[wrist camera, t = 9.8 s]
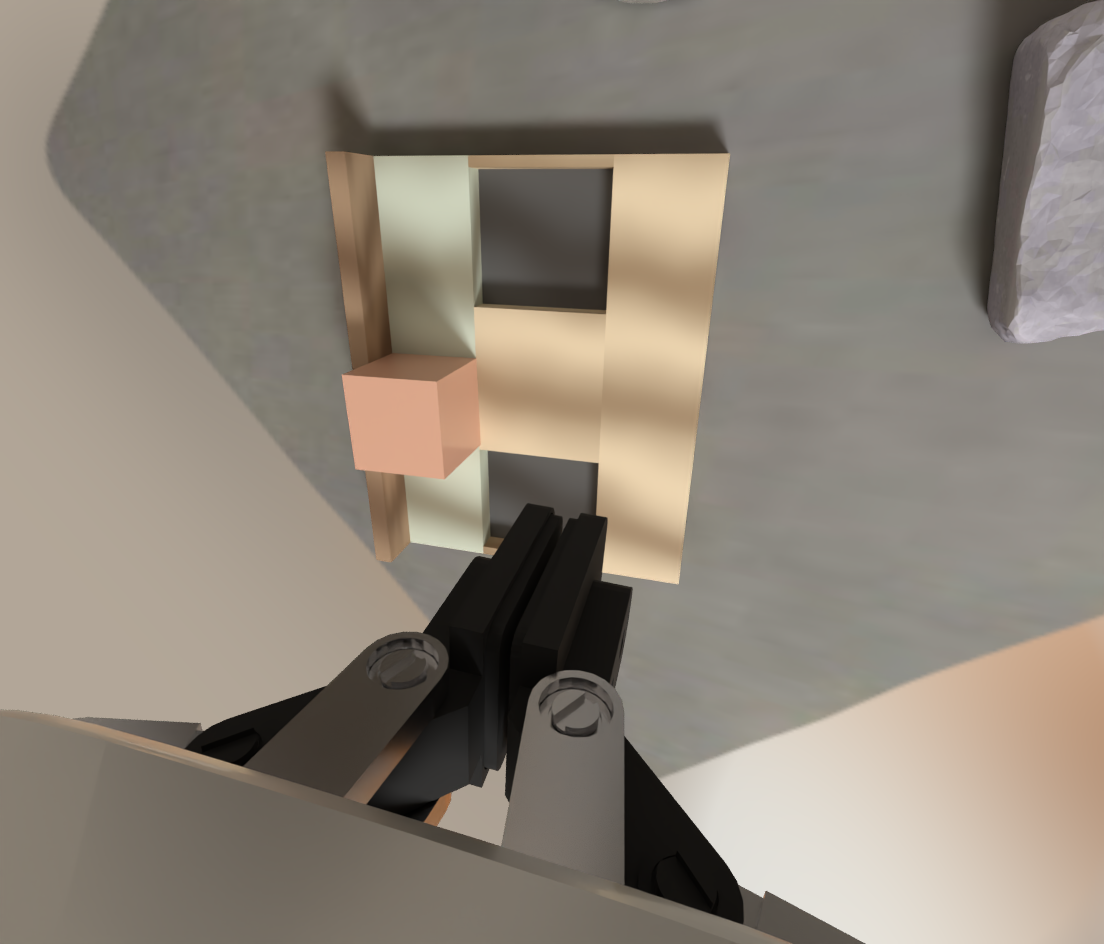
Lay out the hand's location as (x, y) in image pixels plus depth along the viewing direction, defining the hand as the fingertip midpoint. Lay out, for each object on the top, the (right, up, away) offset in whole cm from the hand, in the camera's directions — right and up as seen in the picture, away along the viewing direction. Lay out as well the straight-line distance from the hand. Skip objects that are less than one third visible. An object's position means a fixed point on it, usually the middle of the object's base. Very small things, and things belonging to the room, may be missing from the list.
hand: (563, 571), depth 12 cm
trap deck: (-1, +7, +21) cm, 22 cm away
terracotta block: (-7, +6, +21) cm, 23 cm away
